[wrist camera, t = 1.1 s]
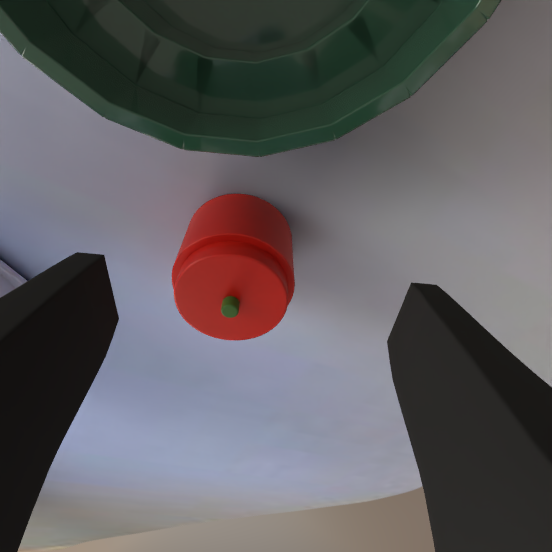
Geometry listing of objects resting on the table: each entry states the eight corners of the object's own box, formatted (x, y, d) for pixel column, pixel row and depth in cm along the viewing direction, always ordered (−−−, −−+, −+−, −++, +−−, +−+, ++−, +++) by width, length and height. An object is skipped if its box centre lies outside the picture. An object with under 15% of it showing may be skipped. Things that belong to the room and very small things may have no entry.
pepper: (229, 286, 21) (215, 370, 17) (169, 217, 19) (132, 294, 14) (308, 247, 20) (319, 328, 15) (256, 166, 17) (248, 233, 12)
